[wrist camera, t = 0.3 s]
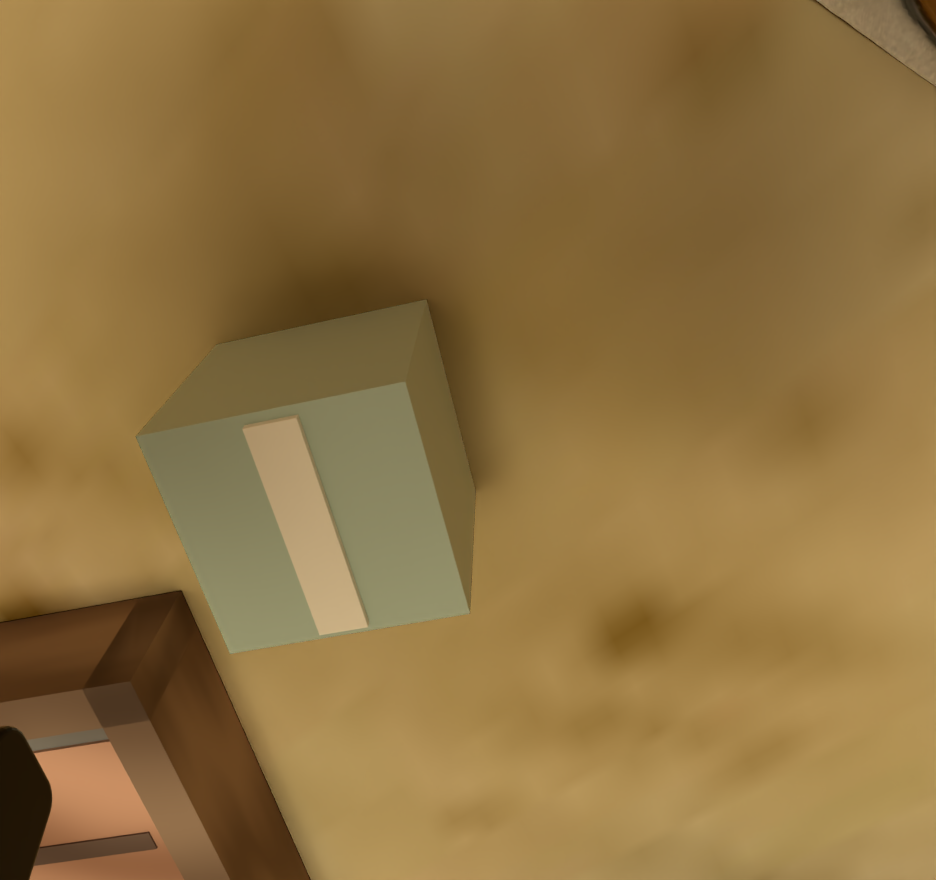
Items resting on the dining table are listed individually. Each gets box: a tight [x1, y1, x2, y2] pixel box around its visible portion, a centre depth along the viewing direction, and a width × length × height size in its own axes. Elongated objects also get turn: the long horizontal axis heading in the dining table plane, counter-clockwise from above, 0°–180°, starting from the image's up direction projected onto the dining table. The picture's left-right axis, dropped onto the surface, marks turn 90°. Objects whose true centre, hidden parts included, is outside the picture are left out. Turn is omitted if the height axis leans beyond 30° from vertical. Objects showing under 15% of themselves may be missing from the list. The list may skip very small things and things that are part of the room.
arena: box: [0, 591, 310, 880], centre depth 25 cm, size 15×15×4 cm
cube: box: [136, 299, 476, 654], centre depth 18 cm, size 5×5×5 cm
